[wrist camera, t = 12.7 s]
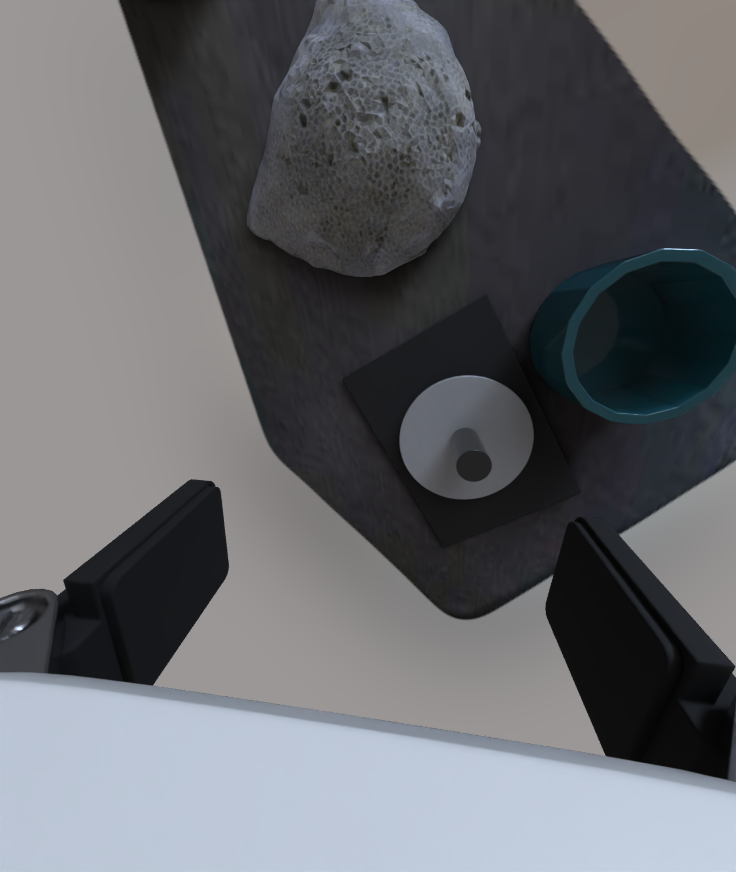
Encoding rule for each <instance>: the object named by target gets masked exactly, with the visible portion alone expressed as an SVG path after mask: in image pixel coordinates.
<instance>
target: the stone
mask: <svg viewBox="0 0 736 872" xmlns="http://www.w3.org/2000/svg"><path fill="white" fill-rule="evenodd" d="M480 135H481V127H480V124H479V122H477V121H476V120H475V115H474V109H473V101H472V98H471V92H470V88H469V83H468V81H467V78H466V76H465V73H464V71H463V69H462V67H461V65H460V64H459V62H458V60H457V58H456V57H455V55H454V52H453V49H452V45H451V42H450V39H449V36H448V33H447V30H446V29H445V28H444V27H443V26H442V25H441V24H440V23H439V22H438V21H437V20H435V19H433V18H432V17H430V16H429V15H428V14H426V13H425V12H424V11H422V10H421V9H420V8H419V7H418V6H417V4H416V3H415V2H414V1H412V0H317V1H316V5H315V8H314V12H313V17H312V19H311V22H310V25H309V27H308V30H307V32H306V34H305V36H304V38H303V39H302V41H301V43H300V45H299V47H298V49H297V51H296V53H295V55H294V57H293V60H292V63H291V66H290V69H289V71H288V73H287V75H286V77H285V78H284V80H283V82H282V84H281V85H280V87H279V89H278V91H277V93H276V94H275V96H274V99H273V105H272V111H271V117H270V126H269V130H268V135H267V141H266V146H265V150H264V154H263V158H262V161H261V164H260V166H259V170H258V174H257V178H256V181H255V183H254V186H253V190H252V195H251V199H250V202H249V206H248V212H247V217H246V218H247V226H248V227H249V229H250V231H251V232H253V233H254V234H255V235H257V236H258V237H260V238H262V239H265V240H270V241H272V242H273V243H274V244H275V245H277V246H278V247H280V248H281V249H283V250H285V251H286V252H288V253H289V254H291V255H293V256H295V257H298V258H300V259H303V260H305V261H307V262H308V263H309V264H311V265H312V266H313V267H315V268H324V269H328V270H332V271H334V272H336V273H339V274H343V275H348V276H353V277H372V276H379V275H384V274H386V273H388V272H390V271H392V270H393V269H395V268H397V267H399V266H400V265H403V264H405V263H407V262H409V261H411V260H413V259H415V258H417V257H419V256H421V255H423V254H424V253H425V252H426V250H427V248H428V247H429V245H430V244H431V243H432V242H433V241H434V240H435V239H437V238H438V237H439V236H440V234H441V233H442V232H443V231H444V230H445V229H446V228H447V227H448V225H449V224H450V223H451V222H452V221H453V219H454V217H455V215H456V213H457V212H458V211H459V209H460V207H461V205H462V203H463V201H464V198H465V196H466V193H467V189H468V185H469V182H470V179H471V176H472V172H473V168H474V164H475V160H476V152H477V150H478V148H479V146H480Z"/></svg>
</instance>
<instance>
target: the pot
mask: <svg viewBox="0 0 736 872" xmlns="http://www.w3.org/2000/svg"><path fill="white" fill-rule="evenodd" d="M530 354H531V359H532V362H533V365H534V367H535V369H536V372H537V373H538V375H539V376H540V378H541V379H542V380H543V381H544V382H545V383H546V384H547V385H548V386H549V388H551V389H552V390H554V391H556V392H557V393H559V394H561V395H563V396H564V397H566V398H568V399H569V400H571V401H573V402H575V403H576V404H578V405H580V406H582V407H583V408H585V409H587V410H589V411H591V412H593V413H595V414H597V415H599V416H601V417H603V418H604V419H606V420H608V421H610V422H615V423H627V424H639V425H647V424H651V423H655V422H659V421H663V420H666V419H670V418H674V417H678V416H680V415H683V414H684V413H686V412H688V411H689V410H691V409H692V408H694V407H696V406H697V405H699V404H701V403H702V402H704V401H705V400H707V399H709V398H710V397H712V396H713V395H714V394H715V393H716V392H717V391H718V390H719V389H720V387H721V386H722V385H723V384H724V383H725V382H726V380H727V379H728V378H729V377H730V376H731V375H732V374H733V372H734V371H735V370H736V271H735V269H734V268H733V267H732V266H731V265H729V264H727V263H725V262H723V261H721V260H720V259H718V258H716V257H714V256H712V255H710V254H708V253H706V252H705V251H703V250H692V249H666V248H663V249H658V250H654V251H650V252H646V253H643V254H639V255H635V256H631V257H627V258H623V259H619V260H615V261H611V262H607V263H604V264H601V265H598V266H595V267H592V268H589V269H586V270H584V271H581V272H578V273H576V274H574V275H573V276H571V277H570V278H568V279H567V280H565V281H564V282H562V283H561V284H560V285H559V286H558V287H557V288H555V289H554V290H553V291H552V292H551V294H550V295H549V296H548V297H547V298H546V300H545V301H544V302H543V304H542V305H541V307H540V309H539V311H538V312H537V314H536V317H535V319H534V322H533V325H532V329H531V333H530Z"/></svg>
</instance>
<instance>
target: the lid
mask: <svg viewBox="0 0 736 872" xmlns="http://www.w3.org/2000/svg"><path fill="white" fill-rule="evenodd" d="M533 440H534V430H533V424H532V420H531V417H530V414H529V412H528V410H527V408H526V406H525V405H524V403H523V402H522V400H521V399H520V398H519V397H518V396H517V395H516V394H515V393H514V392H513V391H512V390H510V389H509V388H508V387H506V386H505V385H503V384H502V383H500V382H498V381H495V380H493V379H490V378H486V377H482V376H475V375H462V376H455V377H451V378H447V379H444V380H441V381H439V382H437V383H435V384H433V385H431V386H430V387H428V388H427V389H425V390H424V391H423V392H422V393H421V394H419V395H418V396H417V397H416V399H415V400H414V401H413V402H412V403H411V405H410V406H409V408H408V410H407V411H406V413H405V416H404V418H403V421H402V424H401V429H400V440H399V444H400V451H401V455H402V459H403V461H404V463H405V466H406V467H407V469H408V471H409V472H410V474H411V475H412V476H413V477H414V479H415V480H416V481H418V482H419V483H420V484H421V485H422V486H424V487H425V488H426V489H428V490H430V491H431V492H433V493H436V494H438V495H440V496H444V497H447V498H453V499H475V498H481V497H484V496H488V495H490V494H493V493H495V492H497V491H499V490H501V489H502V488H504V487H505V486H507V485H508V484H510V483H511V482H512V481H513V480H514V479H515V478H516V477H517V476H518V475H519V474H520V472H521V471H522V470H523V468H524V467H525V465H526V463H527V461H528V459H529V457H530V454H531V451H532V447H533Z"/></svg>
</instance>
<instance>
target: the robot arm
mask: <svg viewBox="0 0 736 872" xmlns="http://www.w3.org/2000/svg"><path fill="white" fill-rule="evenodd" d="M228 569H229V562H228V553H227V544H226V536H225V526H224V517H223V508H222V499H221V492H220V489H219V488H218V487H215V484H214V483H213V482H212V481H204V480H192V479H191V480H189V481H187V482H186V483H185V484H184V485H182V486H181V487H180V488H179V489H178V490H176V491H175V492H174V493H172V494H171V495H170V496H169V497H167V498H166V499H165V500H164V501H162V502H161V503H160V504H158V505H157V506H156V507H155V508H153V509H152V510H151V511H150V512H148V513H147V514H146V515H145V516H143V517H142V518H141V519H140V520H138V521H137V522H136V523H135V524H133V525H132V526H131V527H130V528H128V529H127V530H126V531H124V532H123V533H122V534H121V535H119V536H118V537H117V538H116V539H114V540H113V541H112V542H111V543H109V544H108V545H107V546H106V547H104V548H103V549H102V550H101V551H99V552H98V553H97V554H95V556H93V557H92V558H90V559H89V560H88V561H87V562H85V563H84V564H83V565H82V566H80V567H79V568H78V569H77V570H75V571H74V572H73V573H72V574H70V575H69V576H68V577H67V578H65V579H64V580H63V581H64V584H65V587H66V589H65V590H64V591H63V592H62V593H60V594H59V595H58V596H57V595H56V594H55V593H54V592H53V591H50V590H45V589H30V590H26V591H21V592H16V593H14V594H11V595H8V596H5V597H2V598H0V872H736V677H735V676H734V675H733V674H732V672H733V670H734V668H735V665H734V664H733V663H732V662H731V661H730V660H729V659H728V658H727V656H726V655H725V654H724V653H723V652H722V651H721V650H720V649H719V647H718V646H717V645H716V644H715V643H714V642H713V641H712V640H711V639H710V637H709V636H708V635H707V634H706V633H705V632H704V630H702V628H701V627H700V626H699V625H698V624H697V623H696V621H695V620H694V619H693V618H692V617H691V616H690V615H689V614H688V612H687V611H686V610H685V609H684V608H683V607H682V606H681V605H680V604H679V602H678V601H677V600H676V599H675V598H674V597H673V596H672V594H671V593H670V592H669V591H668V590H667V589H666V588H665V587H664V585H663V584H662V583H661V582H660V581H659V580H658V579H657V578H656V576H655V575H654V574H653V573H652V572H651V571H650V570H649V569H648V567H647V566H646V565H645V564H644V563H643V562H642V561H641V559H639V557H638V556H637V555H636V554H635V553H634V552H633V550H632V549H631V548H630V547H629V546H628V545H627V544H626V543H625V541H624V540H623V539H622V538H621V537H620V536H619V535H618V534H617V532H616V531H615V530H614V529H613V528H612V527H611V526H610V525H609V523H608V522H607V521H605V520H604V519H596V518H585V517H578V518H577V519H576V520H575V522H570V523H569V524H568V526H567V528H566V532H565V536H564V539H563V543H562V546H561V550H560V554H559V557H558V561H557V564H556V568H555V572H554V575H553V579H552V583H551V586H550V590H549V594H548V597H547V601H546V608H545V609H546V616H547V619H548V621H549V624H550V626H551V628H552V631H553V633H554V636H555V638H556V640H557V643H558V645H559V647H560V650H561V652H562V654H563V657H564V659H565V661H566V664H567V666H568V668H569V671H570V673H571V675H572V678H573V680H574V682H575V685H576V687H577V690H578V692H579V694H580V696H581V699H582V701H583V704H584V706H585V708H586V711H587V713H588V715H589V718H590V720H591V722H592V725H593V727H594V729H595V732H596V734H597V736H598V739H599V741H600V744H601V746H602V748H603V751H604V753H605V755H606V756H601V755H595V754H590V753H585V752H579V751H573V750H566V749H560V748H554V747H548V746H542V745H535V744H529V743H522V742H517V741H510V740H504V739H497V738H491V737H485V736H479V735H472V734H467V733H460V732H454V731H448V730H442V729H435V728H428V727H422V726H416V725H410V724H403V723H397V722H390V721H384V720H377V719H370V718H365V717H358V716H352V715H345V714H338V713H332V712H325V711H319V710H312V709H306V708H298V707H292V706H285V705H280V704H272V703H266V702H259V701H253V700H246V699H239V698H233V697H226V696H219V695H212V694H205V693H198V692H192V691H185V690H178V689H172V688H165V687H158V686H153V684H154V683H155V681H156V680H157V679H158V677H159V676H160V674H161V673H162V671H163V670H164V668H165V667H166V665H167V664H168V662H169V661H170V659H171V658H172V656H173V655H174V654H175V652H176V651H177V649H178V647H179V646H180V645H181V643H182V642H183V640H184V639H185V637H186V636H187V634H188V633H189V631H190V630H191V628H192V627H193V626H194V624H195V622H196V621H197V620H198V618H199V617H200V615H201V614H202V612H203V611H204V609H205V608H206V606H207V605H208V604H209V602H210V601H211V599H212V598H213V596H214V595H215V593H216V592H217V590H218V589H219V587H220V586H221V584H222V583H223V581H224V580H225V578H226V576H227V574H228Z"/></svg>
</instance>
